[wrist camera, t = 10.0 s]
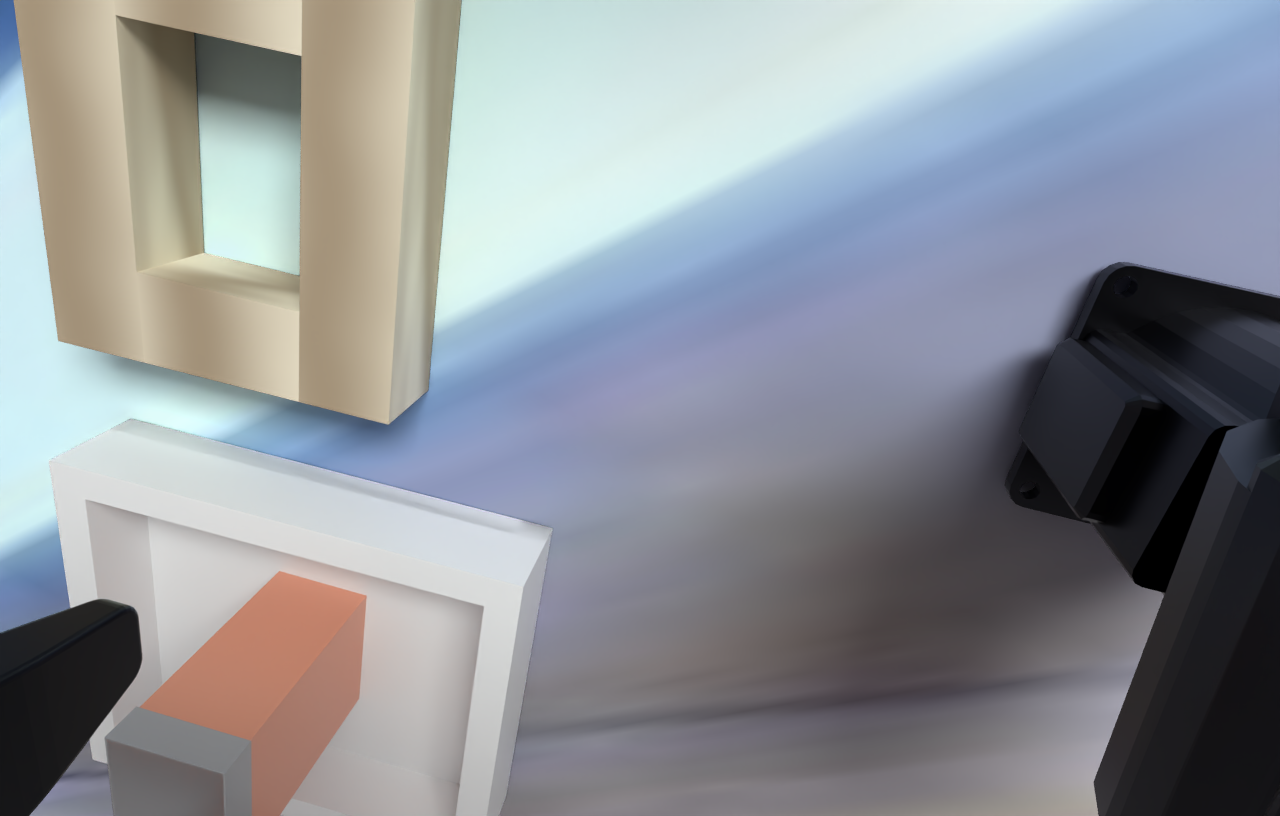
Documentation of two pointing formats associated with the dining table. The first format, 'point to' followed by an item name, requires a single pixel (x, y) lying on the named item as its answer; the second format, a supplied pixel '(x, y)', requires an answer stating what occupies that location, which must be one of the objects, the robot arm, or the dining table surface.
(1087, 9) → the dining table surface
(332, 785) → the parts tray
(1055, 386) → the robot arm
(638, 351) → the dining table surface
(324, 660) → the block
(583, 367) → the dining table surface
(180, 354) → the socket
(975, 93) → the dining table surface
